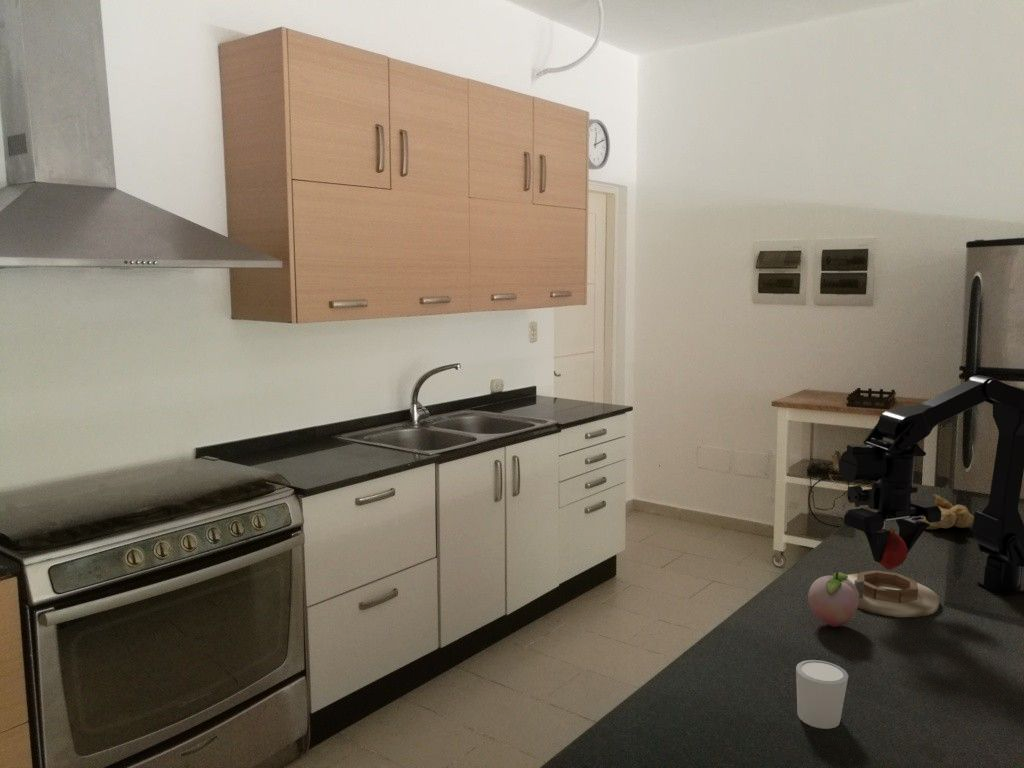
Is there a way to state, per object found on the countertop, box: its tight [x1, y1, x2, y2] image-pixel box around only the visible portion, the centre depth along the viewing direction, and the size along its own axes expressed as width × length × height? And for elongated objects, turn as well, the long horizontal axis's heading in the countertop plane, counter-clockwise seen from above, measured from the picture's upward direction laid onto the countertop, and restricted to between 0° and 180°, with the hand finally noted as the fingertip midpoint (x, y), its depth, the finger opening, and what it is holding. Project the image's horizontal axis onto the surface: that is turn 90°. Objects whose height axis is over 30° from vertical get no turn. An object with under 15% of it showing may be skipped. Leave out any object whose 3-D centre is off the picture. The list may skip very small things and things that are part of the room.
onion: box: [878, 527, 908, 571], centre depth 157 cm, size 6×6×8 cm
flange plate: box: [846, 569, 940, 618], centre depth 158 cm, size 18×18×4 cm
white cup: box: [795, 659, 849, 730], centre depth 116 cm, size 7×7×7 cm
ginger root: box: [923, 493, 974, 531], centre depth 200 cm, size 16×16×8 cm
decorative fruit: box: [807, 571, 859, 628], centre depth 145 cm, size 9×8×10 cm
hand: (889, 559), depth 157 cm, fingers closed on onion, 6 cm apart
